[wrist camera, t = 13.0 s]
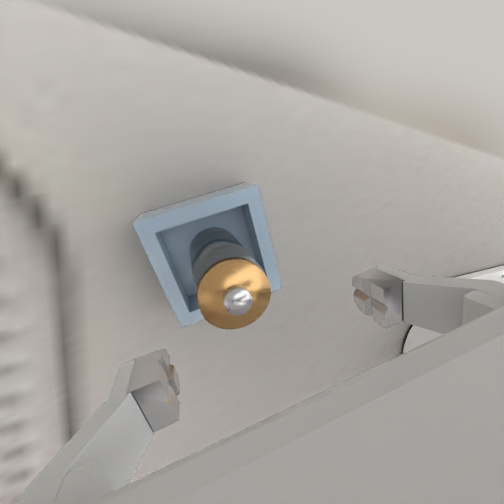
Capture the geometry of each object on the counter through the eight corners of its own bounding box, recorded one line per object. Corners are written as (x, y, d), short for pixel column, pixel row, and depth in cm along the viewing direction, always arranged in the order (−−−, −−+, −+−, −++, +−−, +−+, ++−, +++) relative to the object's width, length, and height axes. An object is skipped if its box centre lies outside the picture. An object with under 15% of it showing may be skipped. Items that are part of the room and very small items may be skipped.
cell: (231, 220, 19) (267, 253, 11) (243, 264, 21) (283, 319, 13) (182, 236, 18) (184, 282, 10) (199, 280, 20) (212, 349, 12)
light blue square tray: (244, 182, 19) (257, 184, 16) (267, 271, 23) (282, 287, 20) (140, 214, 18) (132, 223, 15) (180, 304, 21) (181, 328, 18)
